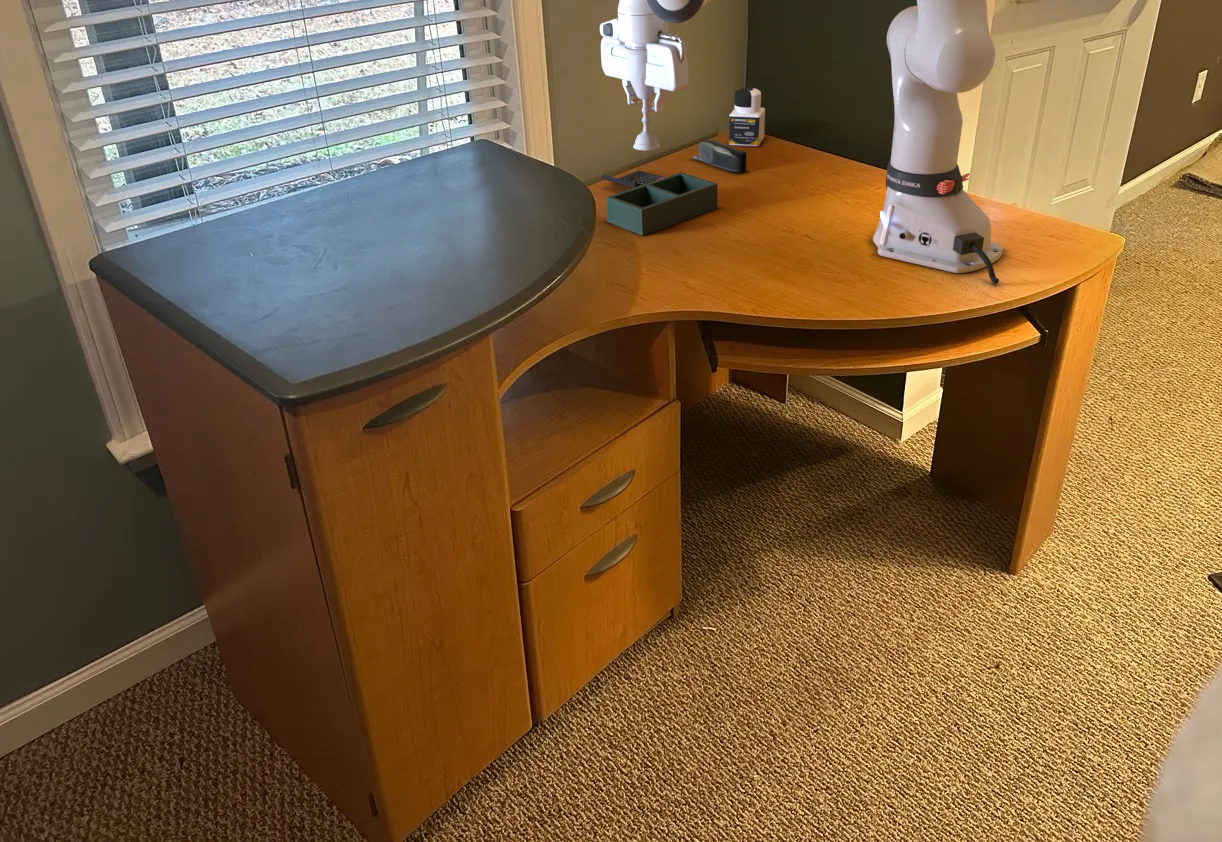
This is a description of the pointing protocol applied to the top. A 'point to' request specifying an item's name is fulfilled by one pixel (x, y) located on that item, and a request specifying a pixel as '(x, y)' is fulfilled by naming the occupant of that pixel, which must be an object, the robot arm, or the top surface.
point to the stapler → (722, 156)
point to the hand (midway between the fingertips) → (645, 107)
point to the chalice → (642, 97)
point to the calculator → (634, 179)
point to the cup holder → (661, 203)
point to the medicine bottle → (747, 118)
